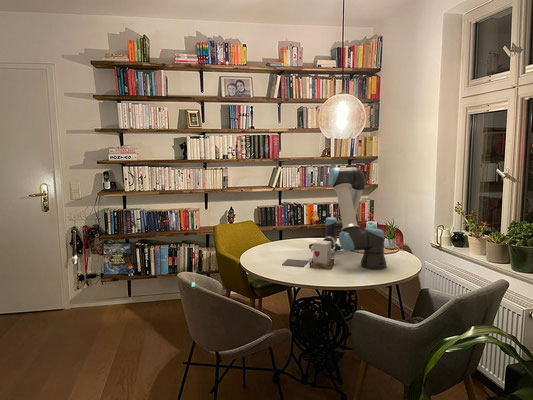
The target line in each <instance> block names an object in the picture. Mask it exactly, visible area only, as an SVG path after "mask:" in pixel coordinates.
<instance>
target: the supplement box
mask: <svg viewBox="0 0 533 400" xmlns="http://www.w3.org/2000/svg"><path fill="white" fill-rule="evenodd" d="M331 243H332V242H331V241H323V240H322V239H320V240H319V239H317V240H316V241H314V242H313V243H312V244H313V251H312V253H313V256H312V259H313V263H322V264H330V263H331V259H332V249H331Z"/></svg>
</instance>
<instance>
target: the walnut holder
mask: <svg viewBox="0 0 533 400" xmlns="http://www.w3.org/2000/svg"><path fill="white" fill-rule="evenodd" d="M334 266H335V258H331V263H330V264H322V263H313V258H312V259H311V260H310V261H309V268H311V269H321V270H332V268H333V267H334Z"/></svg>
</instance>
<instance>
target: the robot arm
mask: <svg viewBox="0 0 533 400" xmlns="http://www.w3.org/2000/svg"><path fill="white" fill-rule="evenodd" d="M366 183H367V181H366V175H365V174H364V173H363V171H362V170H361V169H360V168H358V167H355V166H351V167H342V166H341V167H340V166H338V167H333V168H331V170H330V171H329V174H328V185H329V186H331V187H333V188H332V189H333V191H335V192H336V196H337V202H338V207H339V213H340V218H341V219H337V217H335V216H334V217H333V216H331V217H326V218H325V224H324V225H325V235H324V236H325V237H324V238H323V240H322V241H331V242H332V243H331V254H335V252H337V251H341V248H342V249H343V250H344V251H346V252H348V251H349V252H353V251H363V254H362V257H361V260H360V266H361V267H362V268H365V269H369V270H383V269H386V268H387V265H388V264H387V260H386V257H385V232H384V230H383V229H380V228H376V227H375V228H374V227H364V229H363V230H361V226H360V225H359V224H358V221H357V213H358V210H359V209H358V208H359V205H360V202H361V201H360V200H361V197H362V193H363V190H365V188H366ZM339 231H340V232H339ZM337 232H339V234H338V236H337ZM337 241H338V242H339V244H338V243H337ZM308 248H309V249H310V252H311V253H313V243H309V245H308Z"/></svg>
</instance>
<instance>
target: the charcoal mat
mask: <svg viewBox="0 0 533 400" xmlns="http://www.w3.org/2000/svg"><path fill="white" fill-rule="evenodd" d="M308 263H310V261H309V260H308V259H307V260H305V259H295V258H293V259H292V258H287V259H285V261H284V262H283V263H282V264H281V266H288V267H295V268H299V267H300V268H305V267H306V265H307V264H308Z"/></svg>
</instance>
